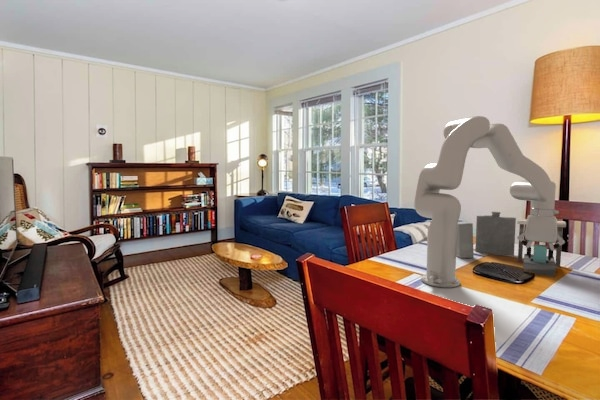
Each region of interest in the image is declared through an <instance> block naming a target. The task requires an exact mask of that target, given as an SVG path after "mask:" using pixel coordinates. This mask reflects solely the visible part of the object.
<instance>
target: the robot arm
mask: <svg viewBox="0 0 600 400" xmlns="http://www.w3.org/2000/svg"><path fill="white" fill-rule="evenodd" d="M443 137H444V139H445V140H444V141H443V143H442V146H441V149H440V153H439V157H438V160H437V162H436V163H435V162H433V163H428V164H427V165H425V166H424V167H423V168H422V170H421V171H420V172H419V175H418V180H417V185H416V190H415V196H414V210H415V212H416V213H417V214H418V215H419V216H420V217H423V218H427V219H431V221H430V224H429V226H428V228H427V235H426V236H427V237H426V238H427V239H426V246H427V247H426V274H423V275H422V276H421V280H422V282H423V283H425V284H427V285H429V286H431V287H437V288H444V289H446V288H449V289H450V288H456V287H459V286H460V285H461V280H460V279H459V278H458V277H456V269H457V268H456V267H457V256H456V244H457V226H458V222H459V219H460V216H461V212H462V205H461V202H460V200H459V199H458V198H457V197H456V196H454V195H453V194H450V193H442V192H440V191H441V190H443V191H452V190H455V189H457V188H459V187H460V185H461V182H462V180H463V174H464V170H465V164H466V159H467V156H468V152H469V150H470V148H471V149H488V150H489V152H490V153H491V155H492V157H493V159H494V161H495V163H496V164H497V166H498V167H499V168H501V169H502V170H504V171H507V172H508V173H511V174H514V175H516V176H519V177H521V178H523V179H524V180H517V181H515V182H513V183H512V184H511V185H510V187H509V194H510V195H511V197H512V198H514V199H515V200H518V201H527V202H528V201H529V202H530V209H529V211H530V213H529V214H528V215H527V217H526V219H527V221H526V224H525V227H524V229H525V230H524V232H523V233H522V234H520V235H519V234H518V235H517V237H516V238H517V240H518V241H519V240H520V241H521V242H522V243H523V246H525V247H526V254H527V255H529V258H531V254H532V243H533V242H537V243H547V244H548V246H549V249H548V250H547V253H548V255H547V256H548V260H549V261H551V258H553V257H554V251H556V248H558V247H559V246H561V245H562V246H563V245H564V244H565V243H566V241H565V240H564V239H563V237H562V238H561V237H560V236H559V235H558V234H557V231H558V227H557V221H558V220H557V217H556V215H559V214H560V211H559V210H556V209H555V202H556V190H557V189H556V188H557V186H556V183H555V181H552V180H551V178H550V177H549V174H548V173H547V171H545V169H544V168H543V167H541V166H540V165H539V164H537V163H536V162H535V161H533V160H531V159H530V158H529V157H526V156H525V155H524V154H523V152H522V150H521V148H520V147H519V145H518V143H517V142H516V140H515V138H514V136H513V135H512V133H511V131H510V129H509V128H508V126H507V125H506V124H503V123H490V120H489V118H487V117H485V116H482V115H475V116H470V117H466V118H460V119H456V120H452V121H449V122H448V123H447V124H446V125H445V126H444V128H443ZM557 239H558V240H559V242H558V243H557ZM562 246H561V247H562Z"/></svg>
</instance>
